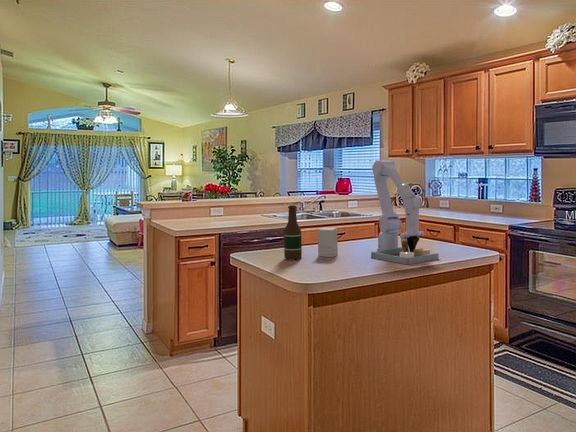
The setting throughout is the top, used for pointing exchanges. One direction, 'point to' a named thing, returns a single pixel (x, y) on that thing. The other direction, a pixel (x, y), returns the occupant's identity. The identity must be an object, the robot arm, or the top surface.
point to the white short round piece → (407, 254)
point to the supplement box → (327, 242)
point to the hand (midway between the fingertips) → (411, 252)
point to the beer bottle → (292, 236)
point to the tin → (404, 245)
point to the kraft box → (421, 252)
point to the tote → (389, 257)
